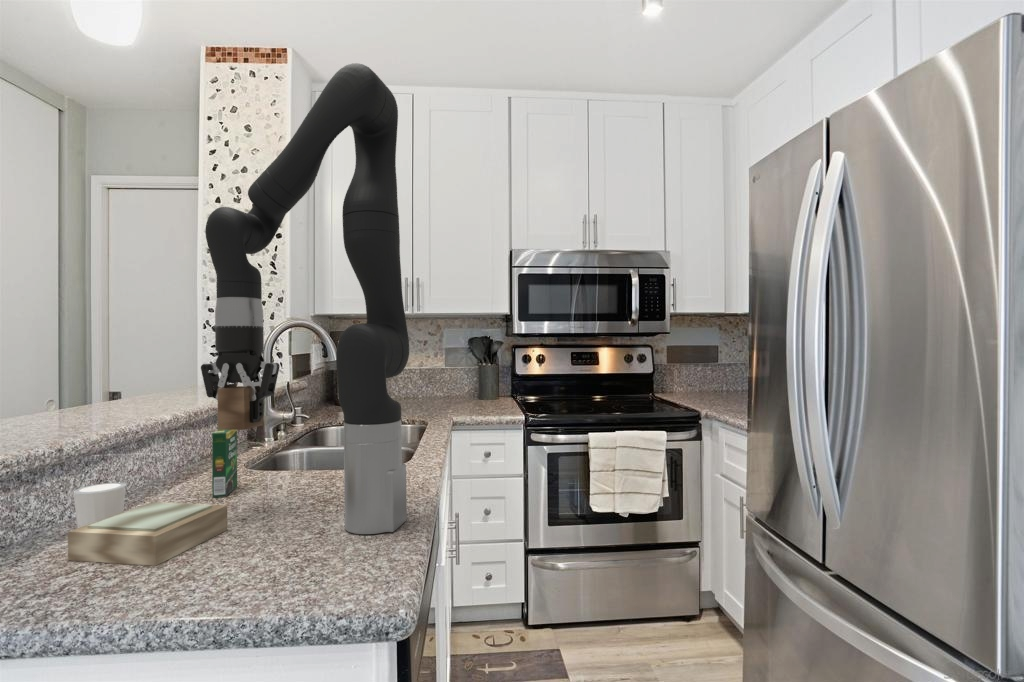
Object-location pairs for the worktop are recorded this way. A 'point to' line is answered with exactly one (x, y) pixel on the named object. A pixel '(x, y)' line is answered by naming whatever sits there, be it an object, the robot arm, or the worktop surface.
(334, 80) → the robot arm
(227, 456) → the coffee box
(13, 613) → the worktop surface
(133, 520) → the plinth
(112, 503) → the white cup
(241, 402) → the walnut block
